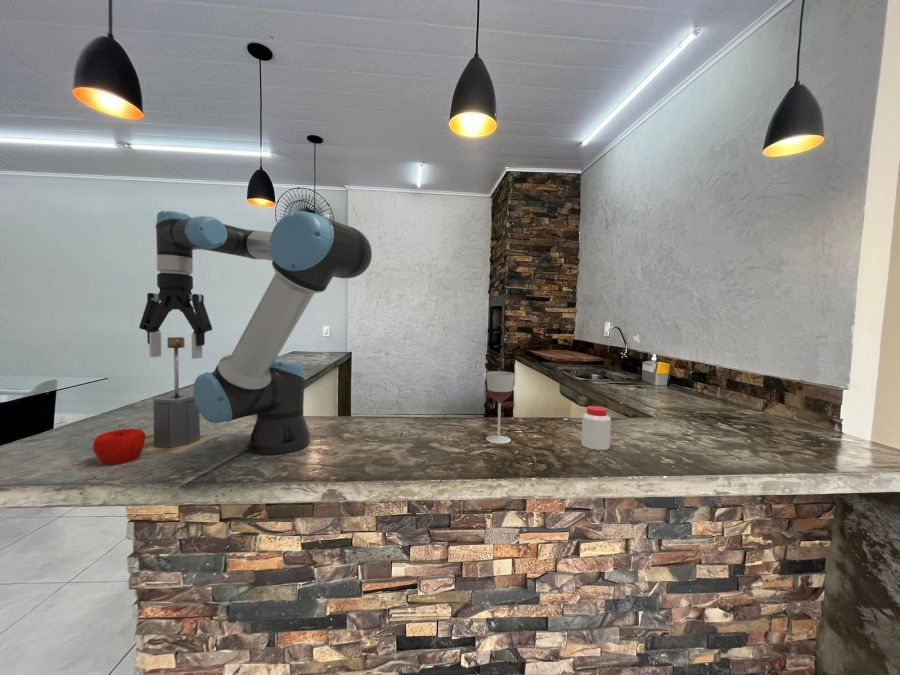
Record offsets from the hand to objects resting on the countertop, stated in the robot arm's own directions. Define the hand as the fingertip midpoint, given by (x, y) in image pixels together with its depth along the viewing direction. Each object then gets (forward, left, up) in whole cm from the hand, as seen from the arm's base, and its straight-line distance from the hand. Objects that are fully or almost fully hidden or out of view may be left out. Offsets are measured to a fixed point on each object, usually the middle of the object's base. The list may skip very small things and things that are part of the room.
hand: (176, 357), depth 98 cm
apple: (+2, +13, -24) cm, 27 cm away
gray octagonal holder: (0, -1, -23) cm, 23 cm away
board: (+4, +1, -24) cm, 24 cm away
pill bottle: (-114, -19, -24) cm, 118 cm away
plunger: (0, 0, -14) cm, 14 cm away
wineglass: (-86, -20, -24) cm, 91 cm away
